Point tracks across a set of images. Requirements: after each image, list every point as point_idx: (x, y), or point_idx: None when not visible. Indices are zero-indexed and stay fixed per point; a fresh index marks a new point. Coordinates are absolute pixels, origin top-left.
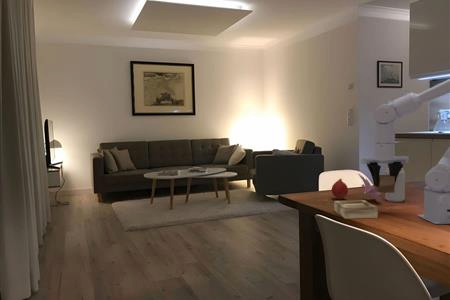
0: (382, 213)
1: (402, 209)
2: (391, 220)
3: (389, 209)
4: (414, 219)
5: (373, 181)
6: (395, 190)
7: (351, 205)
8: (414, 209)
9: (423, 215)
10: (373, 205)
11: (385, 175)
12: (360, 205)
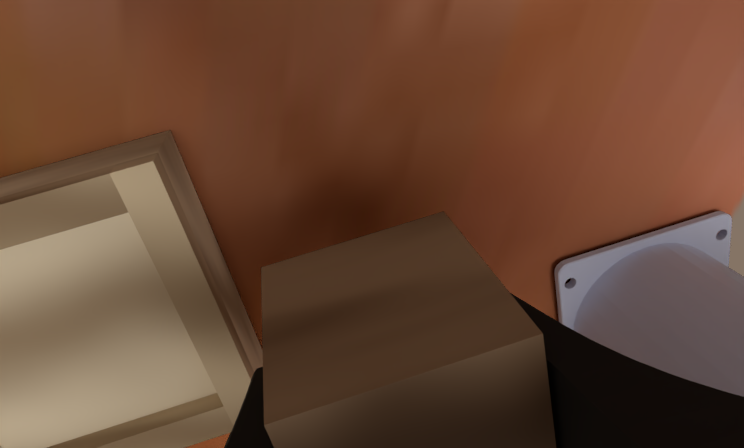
0: (324, 226)
1: (532, 44)
2: None
3: (416, 63)
4: None
5: (244, 412)
6: None
7: (25, 315)
8: (633, 27)
9: (586, 288)
10: (238, 375)
11: (465, 435)
12: (119, 295)
